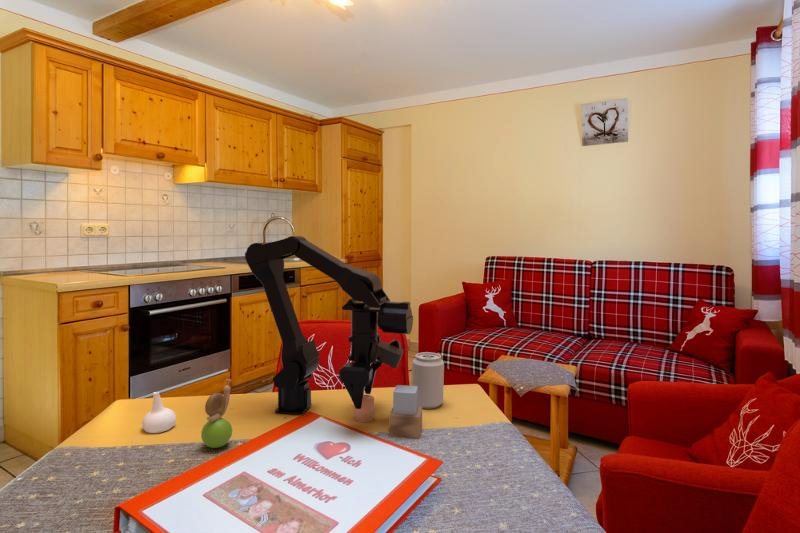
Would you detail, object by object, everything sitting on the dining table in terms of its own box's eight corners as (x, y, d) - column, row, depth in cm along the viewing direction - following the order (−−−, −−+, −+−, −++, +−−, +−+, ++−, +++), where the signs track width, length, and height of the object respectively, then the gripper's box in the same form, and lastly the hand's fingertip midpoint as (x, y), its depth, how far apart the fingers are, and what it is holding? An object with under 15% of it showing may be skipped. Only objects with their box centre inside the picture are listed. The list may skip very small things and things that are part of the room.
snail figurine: (241, 440, 91) (241, 380, 90) (218, 455, 85) (218, 390, 84) (218, 436, 93) (218, 377, 92) (194, 450, 87) (193, 387, 86)
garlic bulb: (182, 423, 99) (181, 387, 98) (163, 436, 93) (162, 397, 92) (155, 421, 100) (154, 385, 99) (135, 433, 94) (134, 395, 93)
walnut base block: (388, 437, 94) (389, 415, 94) (393, 424, 100) (394, 404, 99) (418, 439, 93) (419, 417, 93) (421, 427, 99) (422, 406, 99)
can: (443, 399, 115) (444, 351, 114) (442, 410, 108) (444, 359, 107) (412, 397, 116) (413, 350, 115) (410, 409, 108) (411, 358, 108)
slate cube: (393, 413, 94) (393, 392, 94) (396, 405, 99) (396, 384, 98) (415, 415, 94) (415, 393, 93) (417, 407, 98) (417, 386, 98)
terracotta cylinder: (351, 421, 101) (351, 401, 101) (356, 413, 105) (356, 394, 105) (371, 422, 100) (371, 402, 100) (375, 414, 105) (376, 395, 104)
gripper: (393, 342, 91) (392, 420, 92) (406, 324, 109) (405, 389, 111) (338, 339, 93) (337, 416, 94) (360, 322, 111) (359, 386, 112)
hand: (363, 400), depth 103 cm, fingers open, 9 cm apart
